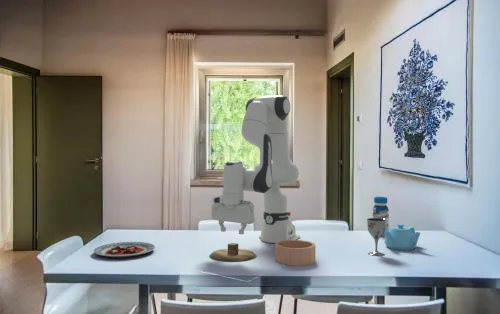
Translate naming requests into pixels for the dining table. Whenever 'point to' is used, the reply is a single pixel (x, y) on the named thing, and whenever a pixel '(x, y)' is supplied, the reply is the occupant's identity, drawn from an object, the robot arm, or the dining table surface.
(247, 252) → the lid
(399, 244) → the teapot
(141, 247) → the ceramic plate
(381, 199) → the beverage bottle
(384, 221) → the wine glass
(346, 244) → the dining table surface
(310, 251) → the bowl
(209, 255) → the tray
